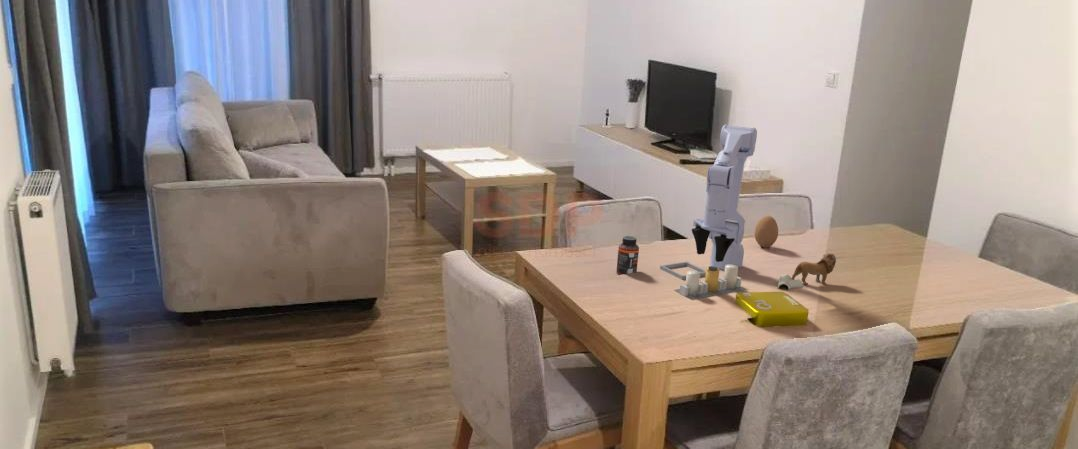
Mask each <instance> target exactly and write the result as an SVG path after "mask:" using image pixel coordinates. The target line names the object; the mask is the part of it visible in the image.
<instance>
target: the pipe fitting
mask: <svg viewBox="0 0 1078 449" xmlns="http://www.w3.org/2000/svg"><path fill="white" fill-rule="evenodd" d="M782 285H785V286H787V288H788V291H790V290H791V289H795V288H803V286H804V283H803V282H802V279H799V278H798V279H794V280H792V276H790V275H789V274H787V273H785V274H782V275H780V276H779V279H778V284H777V289H779V288H780V286H782Z"/></svg>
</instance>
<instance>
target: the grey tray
mask: <svg viewBox="0 0 1078 449" xmlns="http://www.w3.org/2000/svg"><path fill="white" fill-rule="evenodd" d="M678 267H688V268H689V269H692V270H693V271H697V272H700V277H705V276H706V269H703V268H702V267H699V266H697V265H695V264H693V263H691V262H689V261H681V262H680V261H679V262H676V263H675V262H674V263H668V264H661V265H660V266H659V269H660V270H662V271H664V272H665V273H667V274H669V275H671V276H674V277H675V278H678V279H680V280H686V275H687V274H683V275H682V274H680V273H679V272H677V271H675V270H673V268H678Z"/></svg>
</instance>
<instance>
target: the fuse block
mask: <svg viewBox="0 0 1078 449" xmlns="http://www.w3.org/2000/svg"><path fill="white" fill-rule="evenodd" d="M741 284H742V277H739V276H738V275H737V281H736V288H734V289H728V288H727V280H725V279H724V277H719V279H718V287H717V291H716V292H707V291H708V283H705V281H704V280H702V281H700V280H699V288H698V295H696V296H691V295H688V290H689V287H687V286H685V284H680V286H679V288H677V289H673V291H674V292H676V293H678V294H680V295H682V296H684V297H686V298H688V299H690V300H692V301H694V300H698V299H699V300H700V299H705V298H711V297H717V296H721V295H727V294H732V293H740V292H744V291H747V289H746V288H744V287H742V286H741Z"/></svg>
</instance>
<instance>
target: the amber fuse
mask: <svg viewBox="0 0 1078 449" xmlns="http://www.w3.org/2000/svg"><path fill="white" fill-rule="evenodd" d="M705 270H706V276H704V277H705V278H704V282H705V283H708V291H707V292H716V291H717V287H718V279H719V278H720V269H718V268H717V267H715V266H710V265H709V266H708V267H707V268H706V269H705Z"/></svg>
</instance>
